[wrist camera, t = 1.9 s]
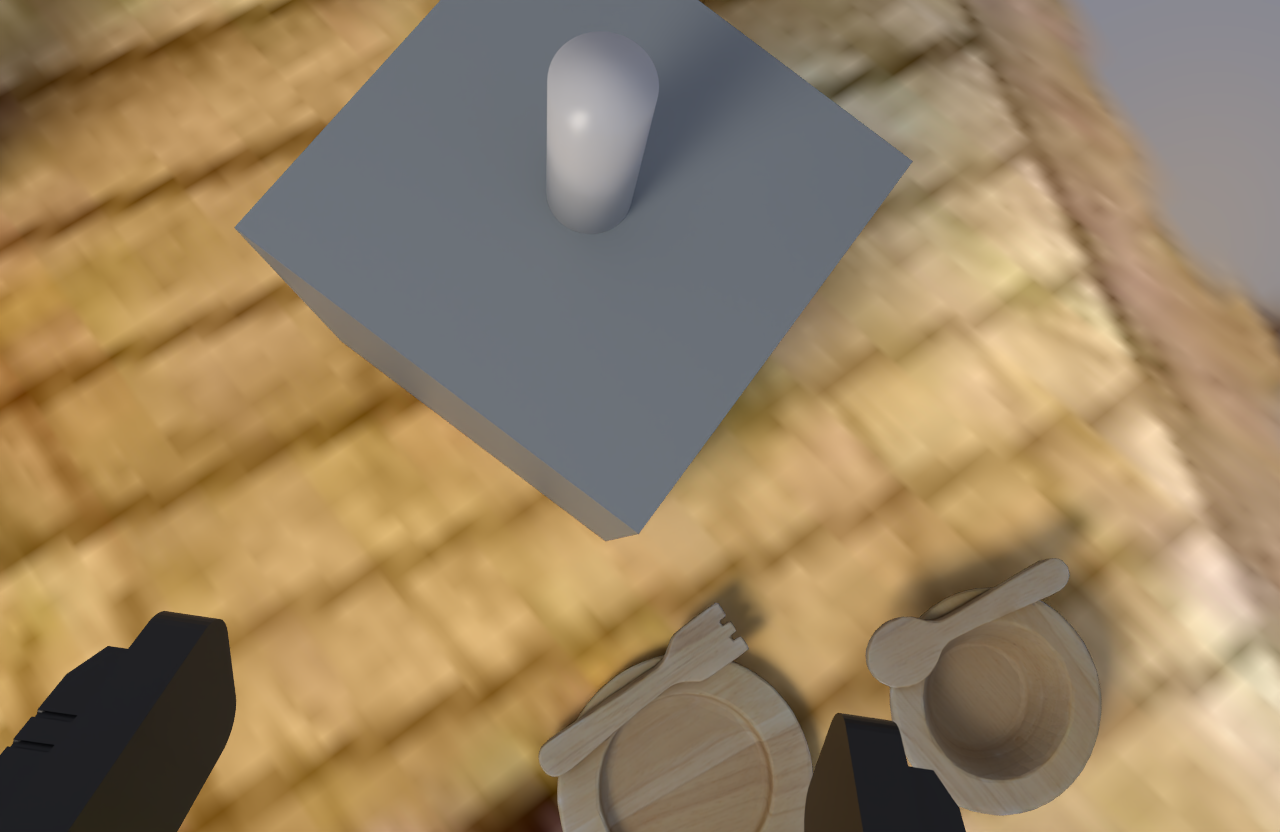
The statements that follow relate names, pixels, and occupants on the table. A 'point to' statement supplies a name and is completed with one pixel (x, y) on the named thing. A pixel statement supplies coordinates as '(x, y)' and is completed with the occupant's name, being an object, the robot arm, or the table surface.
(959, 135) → the table surface
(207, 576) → the table surface
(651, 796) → the tableware set
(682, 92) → the cover
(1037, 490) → the table surface
